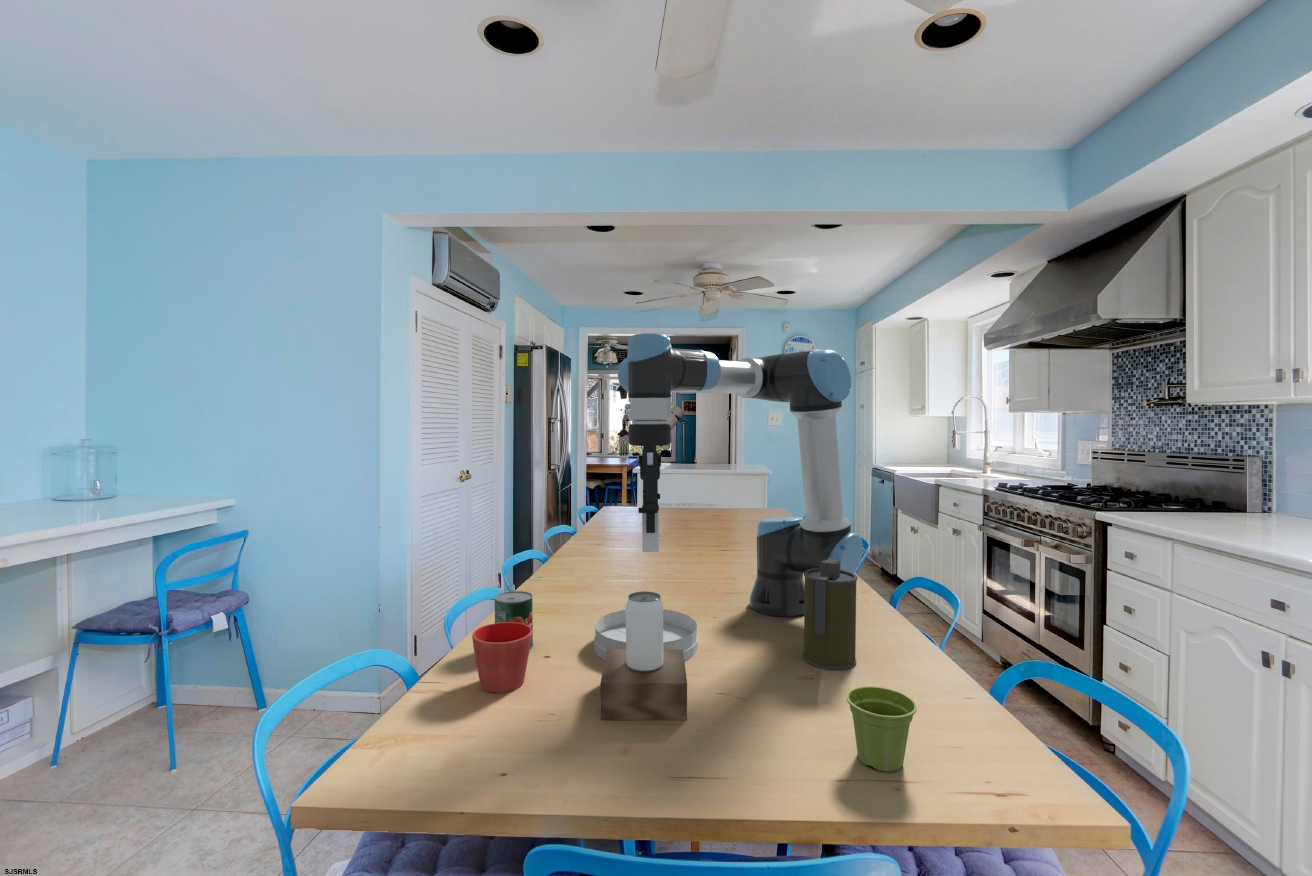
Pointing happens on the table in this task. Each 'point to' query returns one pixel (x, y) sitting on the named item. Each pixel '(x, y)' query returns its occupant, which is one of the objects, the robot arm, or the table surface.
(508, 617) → the canned tomato
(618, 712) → the walnut base
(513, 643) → the flower pot
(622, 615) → the dish
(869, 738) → the plant pot
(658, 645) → the can
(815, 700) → the table surface
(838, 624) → the canister
